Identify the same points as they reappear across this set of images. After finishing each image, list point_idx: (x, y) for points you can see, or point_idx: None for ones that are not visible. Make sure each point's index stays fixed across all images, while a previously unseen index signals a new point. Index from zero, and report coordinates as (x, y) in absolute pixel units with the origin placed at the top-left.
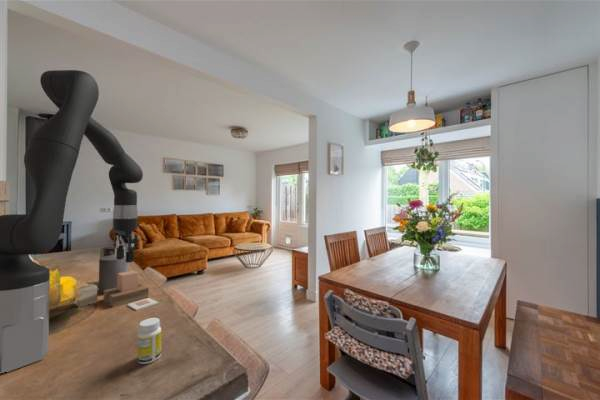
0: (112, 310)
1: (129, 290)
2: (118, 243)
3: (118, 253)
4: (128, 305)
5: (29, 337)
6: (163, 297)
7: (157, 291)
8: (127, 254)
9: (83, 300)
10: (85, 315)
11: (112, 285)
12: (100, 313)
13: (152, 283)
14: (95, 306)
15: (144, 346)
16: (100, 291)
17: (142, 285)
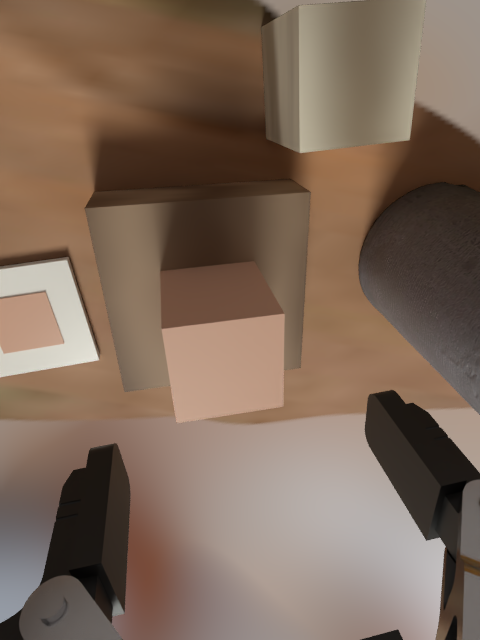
0: (39, 178)
1: None
2: (459, 621)
3: (406, 452)
4: (50, 261)
5: None
6: (74, 408)
7: None
8: (78, 542)
9: (273, 53)
10: (56, 26)
11: (388, 256)
12: (30, 111)
13: (350, 411)
14: (199, 116)
15: None
16: (427, 190)
17: None
